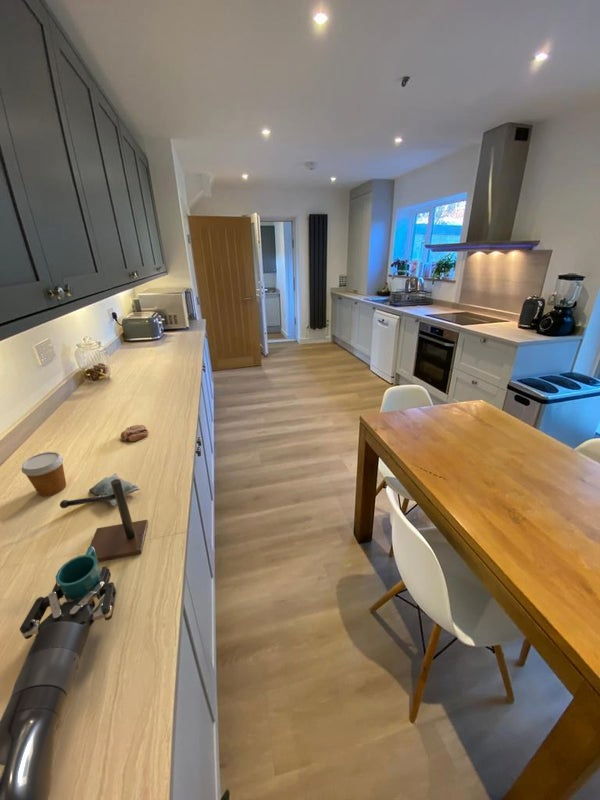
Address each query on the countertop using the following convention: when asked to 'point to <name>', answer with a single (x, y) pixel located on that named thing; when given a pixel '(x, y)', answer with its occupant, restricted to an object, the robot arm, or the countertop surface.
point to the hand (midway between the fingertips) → (86, 573)
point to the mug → (79, 577)
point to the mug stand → (115, 528)
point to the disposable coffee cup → (45, 473)
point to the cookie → (134, 433)
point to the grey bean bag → (106, 488)
